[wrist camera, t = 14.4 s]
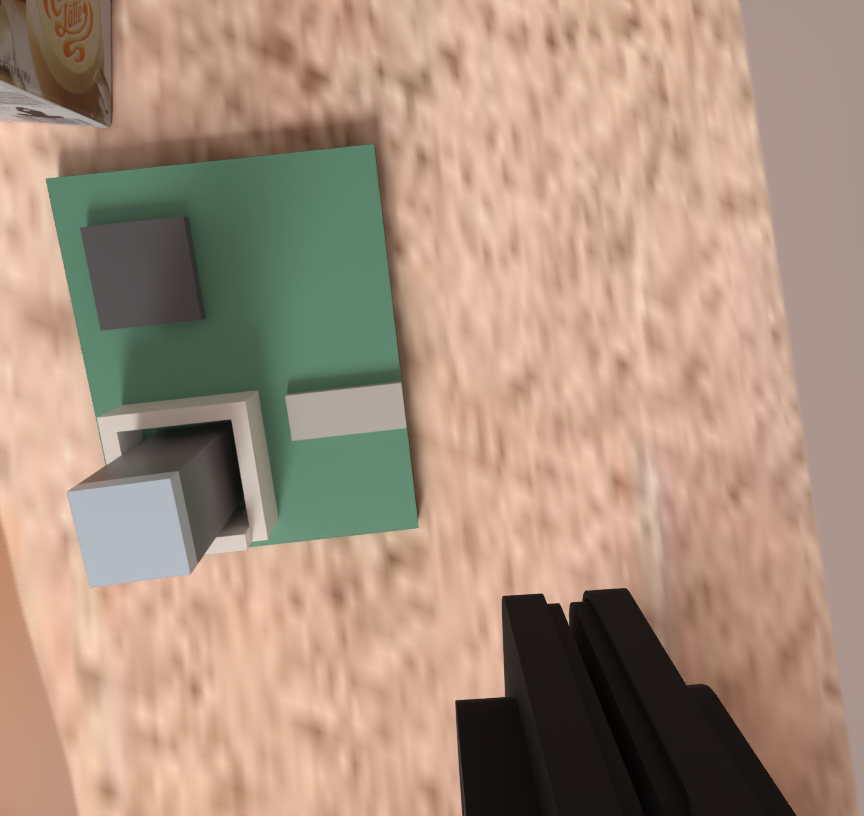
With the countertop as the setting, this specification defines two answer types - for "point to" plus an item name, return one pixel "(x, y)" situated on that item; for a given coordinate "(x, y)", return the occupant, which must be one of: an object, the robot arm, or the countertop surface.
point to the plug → (157, 505)
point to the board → (253, 317)
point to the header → (248, 428)
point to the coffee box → (56, 62)
